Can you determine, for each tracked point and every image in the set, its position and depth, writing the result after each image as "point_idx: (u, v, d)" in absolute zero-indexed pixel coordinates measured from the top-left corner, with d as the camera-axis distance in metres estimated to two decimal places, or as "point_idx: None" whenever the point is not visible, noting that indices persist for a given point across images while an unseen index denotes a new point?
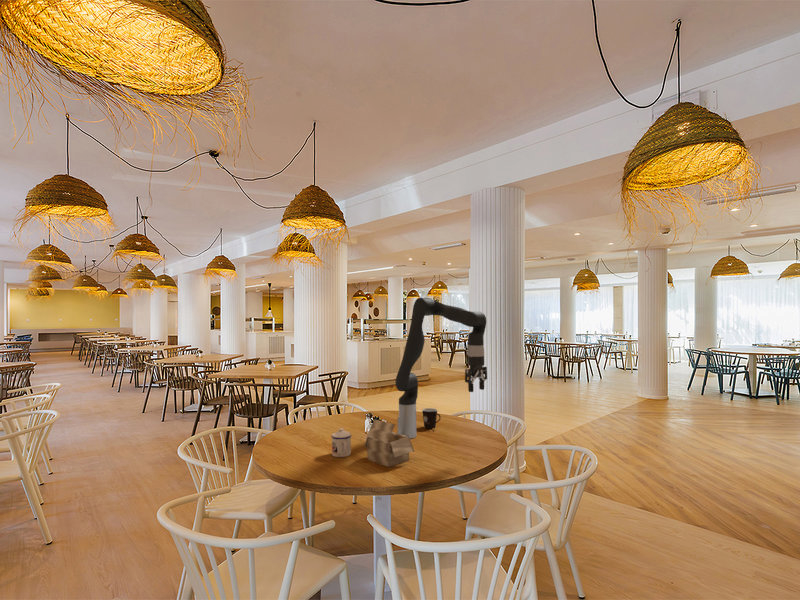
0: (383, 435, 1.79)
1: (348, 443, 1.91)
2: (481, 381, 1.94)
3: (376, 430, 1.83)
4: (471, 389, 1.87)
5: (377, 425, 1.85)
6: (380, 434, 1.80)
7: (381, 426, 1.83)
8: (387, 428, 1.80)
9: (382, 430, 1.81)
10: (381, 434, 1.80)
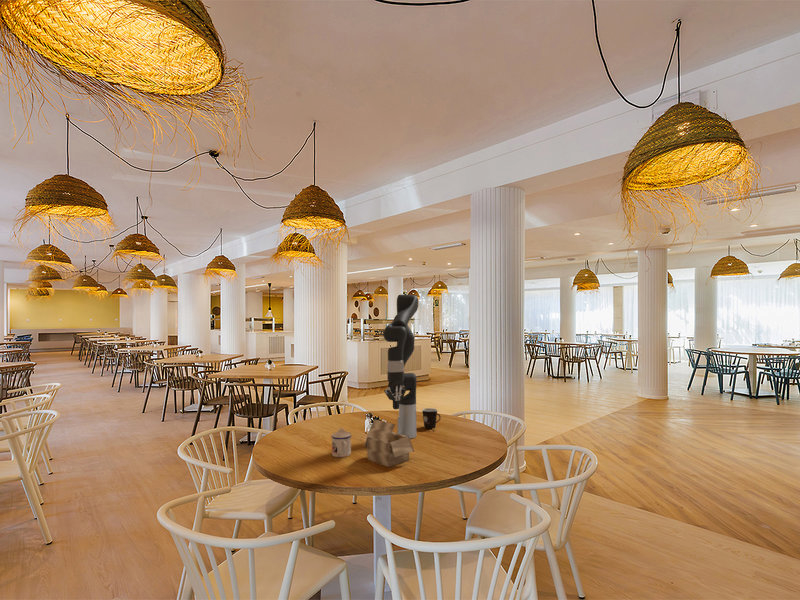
0: (383, 435, 1.79)
1: (348, 443, 1.91)
2: None
3: (376, 430, 1.83)
4: (395, 406, 1.88)
5: (377, 425, 1.85)
6: (380, 434, 1.80)
7: (381, 426, 1.83)
8: (387, 428, 1.80)
9: (382, 430, 1.81)
10: (381, 434, 1.80)
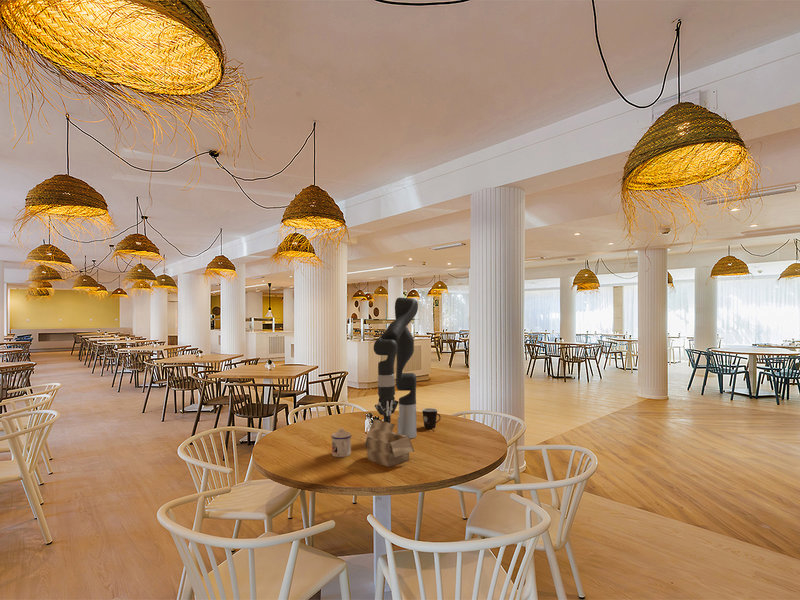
0: (383, 435, 1.79)
1: (348, 443, 1.91)
2: None
3: (376, 430, 1.83)
4: None
5: (377, 425, 1.85)
6: (380, 434, 1.80)
7: (381, 426, 1.83)
8: (387, 428, 1.80)
9: (382, 430, 1.81)
10: (381, 434, 1.80)
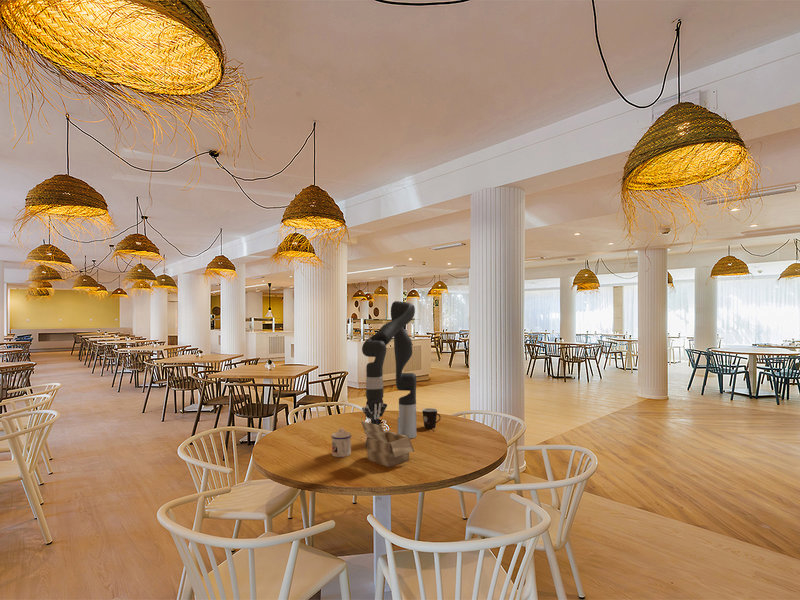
0: (379, 436, 1.77)
1: (348, 443, 1.91)
2: None
3: (370, 431, 1.81)
4: None
5: (367, 427, 1.81)
6: (376, 435, 1.79)
7: (371, 428, 1.79)
8: (377, 430, 1.76)
9: (375, 431, 1.78)
10: (377, 435, 1.78)
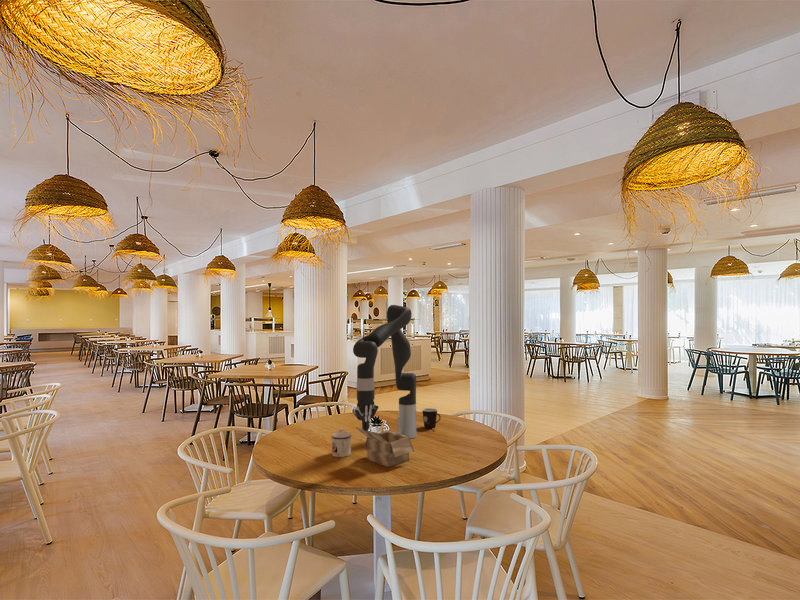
0: (377, 438, 1.77)
1: (348, 443, 1.91)
2: None
3: (368, 434, 1.80)
4: (365, 427, 1.75)
5: (364, 432, 1.79)
6: (375, 437, 1.78)
7: (368, 433, 1.77)
8: (374, 435, 1.75)
9: (372, 435, 1.77)
10: (375, 437, 1.77)
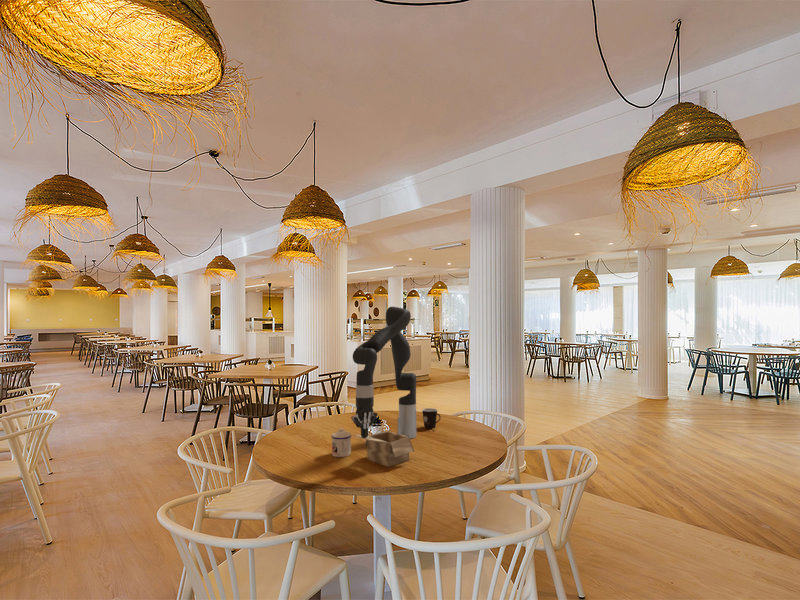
0: (377, 440, 1.76)
1: (348, 443, 1.91)
2: None
3: (367, 438, 1.79)
4: (363, 435, 1.74)
5: (362, 437, 1.78)
6: (374, 439, 1.78)
7: (366, 438, 1.77)
8: (372, 440, 1.74)
9: (371, 439, 1.76)
10: (375, 440, 1.77)
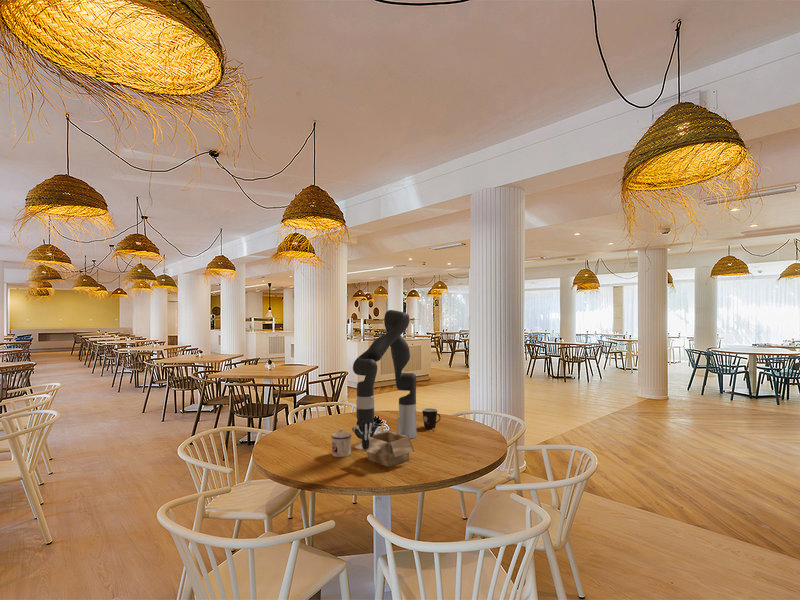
0: None
1: (348, 443, 1.91)
2: None
3: None
4: (364, 446, 1.74)
5: None
6: None
7: None
8: None
9: None
10: None
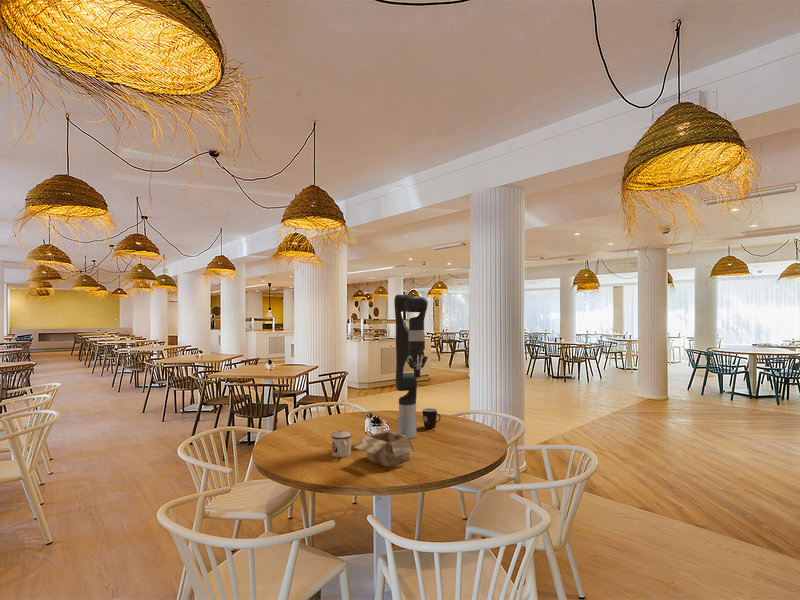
0: None
1: (348, 443, 1.91)
2: None
3: None
4: (416, 375, 1.92)
5: None
6: None
7: None
8: None
9: None
10: None
